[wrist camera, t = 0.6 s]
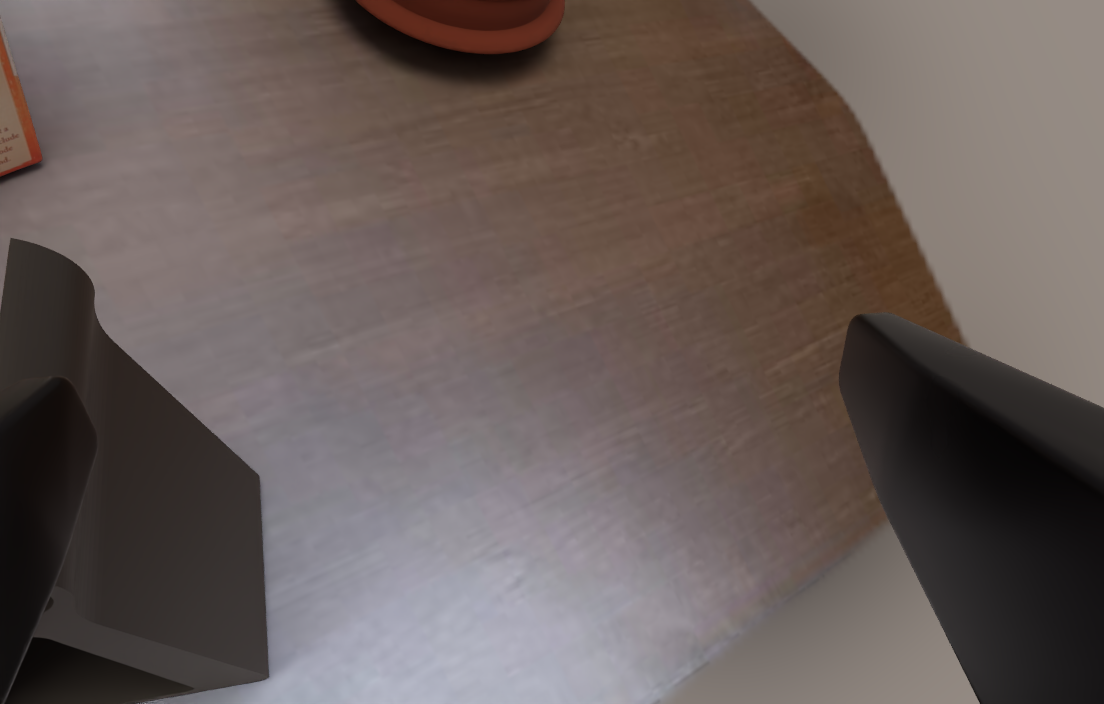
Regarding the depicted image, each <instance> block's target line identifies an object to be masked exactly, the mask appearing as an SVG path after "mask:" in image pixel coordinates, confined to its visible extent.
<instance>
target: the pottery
mask: <svg viewBox="0 0 1104 704" xmlns="http://www.w3.org/2000/svg"><path fill="white" fill-rule="evenodd" d="M356 1H357V2H358V3H359V4H360V5H361V6H362V7H363V8H364V9H366V10H367V11H368V12H369V13H371V14H372V15H373V16H375V17H376V18H378V19H379V20H381V21H382V22H384V23H386V24H387V25H389V26H391V27H392V28H394V29H396V30H398V31H400V32H402V33H404V34H406V35H408V36H411V37H413V38H415V39H418V40H420V41H423V42H426V43H429V44H432V45H435V46H439V47H442V48H446V49H450V50H455V51H461V52H467V53H476V54H503V53H511V52H517V51H521V50H525V49H528V48H531V47H533V46H535V45H538V44H539V43H541V42H543V41H544V40H546V39H547V38H549V37H550V36H551V35H552V34H553V33H554V32H555V31H556V29H557V28H558V26H559V25H560V23H561V21H562V18H563V14H564V8H565V0H356Z"/></svg>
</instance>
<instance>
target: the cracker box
mask: <svg viewBox="0 0 1104 704" xmlns="http://www.w3.org/2000/svg"><path fill="white" fill-rule="evenodd" d="M41 160H42V154H41V150H40V147H39V144H38V141H37V137H36V133H35V130H34V127H33V123H32V120H31V116H30V113H29V110H28V106H27V103H26V100H25V97H24V93H23V90H22V87H21V84H20V81H19V77H18V74H17V71H16V67H15V64H14V61H13V57H12V54H11V50H10V47H9V43H8V40H7V37H6V34H5V30H4V27H3V24H2V21H1V17H0V176H3V175H6V174H8V173H11V172H14V171H16V170H19V169H21V168H24V167H27V166H29V165H32V164H35V163H38V162H41Z"/></svg>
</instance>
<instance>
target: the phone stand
mask: <svg viewBox="0 0 1104 704" xmlns="http://www.w3.org/2000/svg"><path fill="white" fill-rule="evenodd" d="M94 297H95V290H94V286H93V283H92V281H91V279H90V278H89V276H88V275H87V274H86V273H85V272H84V271H83V269H81V268H80V267H79V266H78V265H77V264H75V263H74V262H73V261H71V260H70V259H68V258H66V257H65V256H63V255H61V254H59V253H57V252H55V251H53V250H50V249H48V248H45V247H43V246H40V245H37V244H34V243H30V242H27V241H23V240H18V239H13V238H11V240H10V245H9V252H8V259H7V266H6V274H5V281H4V289H3V296H2V304H1V311H0V391H2V390H4V389H5V388H7V387H9V386H11V385H13V384H15V383H17V382H19V381H21V380H23V379H27V378H32V377H46V376H63V377H65V378H67V379H69V380H70V381H71V382H72V383H73V385H74V386H75V388H76V390H77V392H78V394H79V396H80V398H81V400H82V402H83V404H84V406H85V409H86V411H87V413H88V415H89V417H90V419H91V421H92V423H93V425H94V427H95V429H96V432H97V436H98V452H97V456H96V459H95V463H94V466H93V469H92V472H91V476H90V479H89V482H88V486H87V489H86V492H85V496H84V499H83V502H82V506H81V509H80V512H79V516H78V519H77V522H76V526H75V529H74V532H73V536H72V539H71V542H70V546H69V549H68V552H67V555H66V558H65V560H64V563H63V566H62V569H61V572H60V574H59V577H58V579H57V582H56V584H55V587H54V589H53V591H52V594H51V596H50V598H49V601H48V603H47V605H46V608H45V610H44V612H43V615H42V617H41V619H40V622H39V624H38V626H37V629H36V631H35V633H34V636H33V638H32V640H31V643H30V645H29V647H28V649H27V652H26V654H25V656H24V659H23V661H22V663H21V666H20V668H19V670H18V673H17V675H16V677H15V680H14V682H13V684H12V687H11V689H10V691H9V694H8V696H7V698H6V701H5V703H4V704H135V703H141V702H146V701H152V700H158V699H163V698H169V697H174V696H180V695H185V694H191V693H196V692H202V691H207V690H213V689H218V688H224V687H230V686H235V685H241V684H246V683H252V682H257V681H261V680H265V679H267V678H269V667H268V646H267V626H266V605H265V584H264V563H263V542H262V521H261V500H260V480H259V475H258V474H257V473H256V472H255V471H254V470H252V469H251V468H250V467H249V466H248V465H247V464H246V463H245V462H244V461H243V460H242V459H241V458H239V457H238V456H237V455H236V454H235V453H234V452H233V451H232V450H231V449H230V448H229V447H227V446H226V445H225V444H224V443H223V442H222V441H221V440H220V439H219V438H218V437H217V436H216V435H214V434H213V433H212V432H211V431H210V430H209V429H208V428H207V427H206V426H205V425H204V424H203V423H201V422H200V421H199V420H198V419H197V418H196V417H195V416H194V415H193V414H192V413H191V412H189V411H188V410H187V409H186V408H185V407H184V406H183V405H182V404H181V403H180V402H179V401H178V400H176V399H175V398H174V397H173V396H172V395H171V394H170V393H169V392H168V391H167V390H166V389H165V388H163V387H162V386H161V385H160V384H159V383H158V382H157V381H156V380H155V379H154V378H153V377H152V376H150V375H149V374H148V373H147V372H146V371H145V370H144V369H143V368H142V367H141V366H140V365H138V364H137V363H136V362H135V361H134V360H133V359H132V358H131V357H130V356H129V355H128V354H127V353H125V352H124V351H123V350H122V349H121V348H120V347H119V346H118V345H117V344H116V343H115V342H114V341H113V340H112V339H111V338H110V337H109V336H108V335H107V334H106V333H105V331H104V330H103V329H102V327H101V325H100V323H99V321H98V319H97V316H96V313H95V308H94Z"/></svg>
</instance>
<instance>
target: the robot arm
mask: <svg viewBox="0 0 1104 704" xmlns="http://www.w3.org/2000/svg"><path fill="white" fill-rule="evenodd" d="M839 386H840V391H841V394H842V397H843V400H844V403H845V406H846V409H847V412H848V414H849V417H850V420H851V423H852V426H853V429H854V431H855V434H856V437H857V440H858V443H859V446H860V448H861V451H862V454H863V457H864V460H865V463H866V465H867V468H868V471H869V474H870V477H871V480H872V482H873V485H874V487H875V490H876V493H877V495H878V498H879V500H880V502H881V504H882V506H883V509H884V511H885V513H886V515H887V517H888V519H889V521H890V523H891V525H892V527H893V529H894V531H895V533H896V535H897V537H898V539H899V541H900V543H901V545H902V547H903V549H904V551H905V553H906V555H907V558H908V560H909V561H910V564H911V566H912V568H913V569H914V572H915V573H916V576H917V578H918V580H919V582H920V584H921V586H922V588H923V590H924V592H925V594H926V596H927V598H928V599H929V602H930V604H931V606H932V608H933V610H934V612H935V614H936V616H937V618H938V620H939V621H940V624H941V626H942V628H943V630H944V632H945V634H946V636H947V638H948V640H949V642H950V644H951V646H952V648H953V650H954V652H955V654H956V656H957V658H958V660H959V662H960V664H961V666H962V668H963V670H964V672H965V674H966V676H967V678H968V680H969V682H970V684H971V686H972V688H973V690H974V692H975V694H976V696H977V698H978V700H979V702H980V704H1104V408H1103V407H1101V406H1099V405H1096V404H1094V403H1092V402H1090V401H1087V400H1085V399H1083V398H1081V397H1078V396H1076V395H1074V394H1072V393H1069V392H1067V391H1065V390H1063V389H1061V388H1058V387H1056V386H1054V385H1052V384H1049V383H1047V382H1045V381H1042V380H1040V379H1038V378H1036V377H1034V376H1031V375H1029V374H1027V373H1024V372H1022V371H1020V370H1018V369H1016V368H1013V367H1011V366H1009V365H1006V364H1004V363H1002V362H1000V361H998V360H995V359H993V358H991V357H989V356H986V355H984V354H982V353H980V352H977V351H975V350H973V349H971V348H968V347H966V346H964V345H962V344H960V343H957V342H955V341H953V340H951V339H948V338H946V337H944V336H942V335H939V334H937V333H935V332H933V331H930V330H928V329H926V328H924V327H921V326H919V325H917V324H915V323H912V322H910V321H908V320H906V319H903V318H901V317H899V316H897V315H894V314H892V313H886V312H883V313H871V314H860V315H856V316H855V317H854V318H853V319H852V320H851V322H850V324H849V326H848V330H847V335H846V341H845V346H844V351H843V356H842V361H841V366H840V372H839ZM97 452H98V436H97V432H96V429H95V427H94V425H93V423H92V421H91V419H90V417H89V415H88V413H87V411H86V409H85V406H84V404H83V402H82V400H81V398H80V396H79V394H78V392H77V390H76V388H75V386H74V385H73V383H72V382H71V381H70V380H69V379H67V378H65V377H63V376H46V377H32V378H27V379H23V380H21V381H19V382H17V383H15V384H13V385H11V386H9V387H7V388H5V389H4V390H2V391H0V704H4V703H5V701H6V698H7V696H8V694H9V691H10V689H11V687H12V684H13V682H14V680H15V677H16V675H17V673H18V670H19V668H20V666H21V663H22V661H23V659H24V656H25V654H26V652H27V649H28V647H29V645H30V643H31V640H32V638H33V636H34V633H35V631H36V629H37V626H38V624H39V622H40V619H41V617H42V615H43V612H44V610H45V608H46V605H47V603H48V601H49V598H50V596H51V594H52V591H53V589H54V587H55V584H56V582H57V579H58V577H59V574H60V572H61V569H62V566H63V563H64V560H65V558H66V555H67V552H68V549H69V546H70V542H71V539H72V536H73V532H74V529H75V526H76V522H77V519H78V516H79V512H80V509H81V506H82V502H83V499H84V496H85V492H86V489H87V486H88V482H89V479H90V476H91V472H92V469H93V466H94V463H95V459H96V456H97Z"/></svg>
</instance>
